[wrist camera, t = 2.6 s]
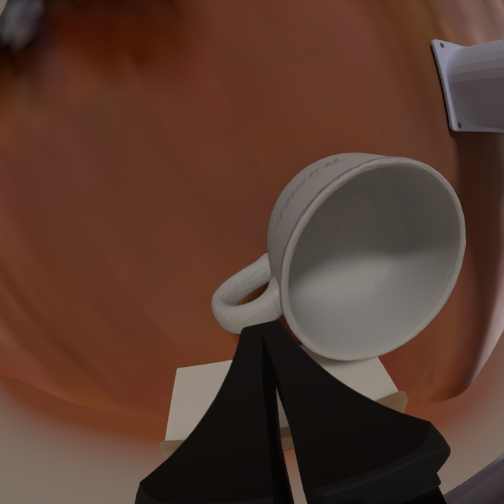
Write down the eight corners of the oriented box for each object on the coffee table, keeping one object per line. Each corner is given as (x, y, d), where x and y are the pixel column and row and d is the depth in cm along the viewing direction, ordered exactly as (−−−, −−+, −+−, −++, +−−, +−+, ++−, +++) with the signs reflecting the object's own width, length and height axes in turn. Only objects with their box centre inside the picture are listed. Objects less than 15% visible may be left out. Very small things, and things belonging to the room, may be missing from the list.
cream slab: (361, 325, 22) (408, 398, 14) (361, 340, 23) (403, 413, 15) (174, 366, 23) (158, 450, 14) (181, 380, 23) (169, 462, 15)
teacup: (398, 149, 18) (476, 159, 10) (395, 284, 21) (450, 339, 14) (199, 165, 17) (176, 177, 10) (225, 313, 21) (225, 393, 14)
